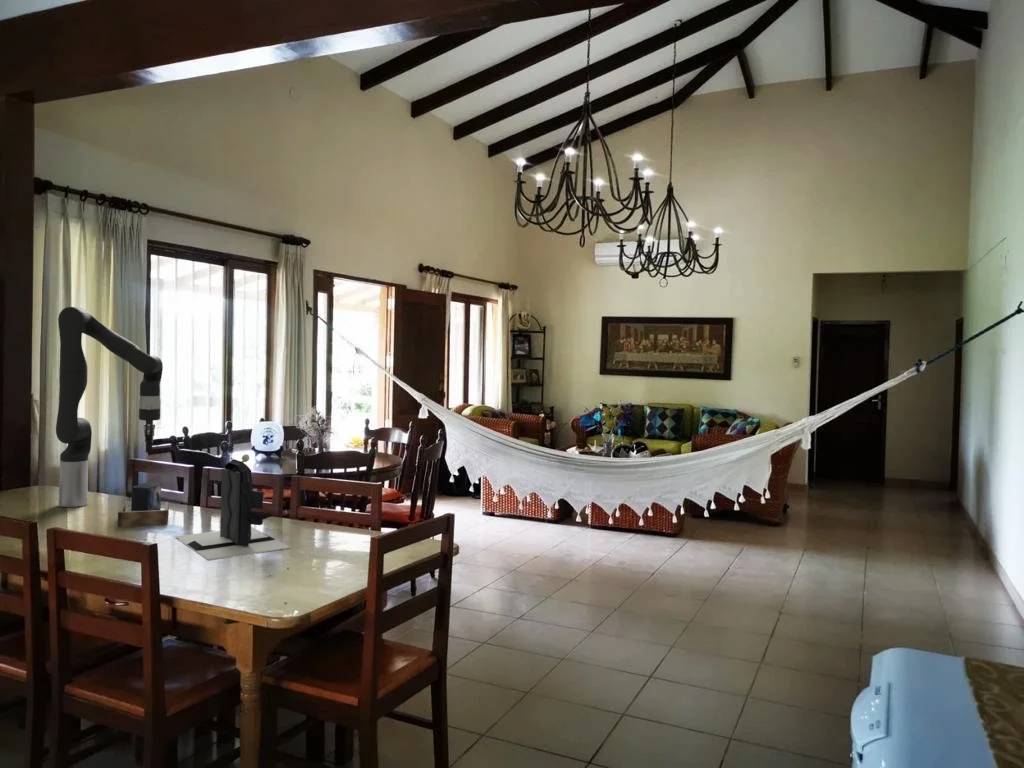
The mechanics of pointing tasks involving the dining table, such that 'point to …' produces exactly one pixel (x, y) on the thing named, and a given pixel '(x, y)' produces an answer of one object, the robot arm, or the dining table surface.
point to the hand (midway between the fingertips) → (149, 452)
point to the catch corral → (143, 517)
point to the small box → (146, 497)
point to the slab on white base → (235, 519)
